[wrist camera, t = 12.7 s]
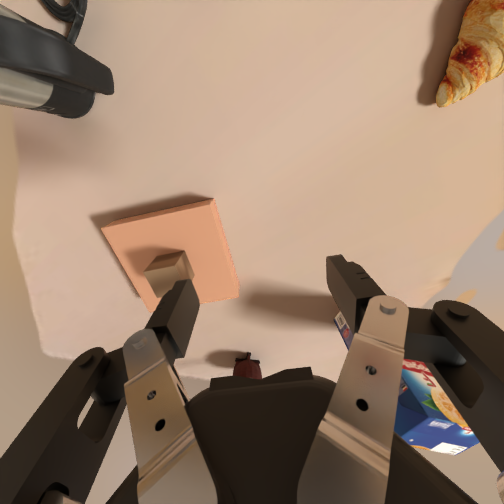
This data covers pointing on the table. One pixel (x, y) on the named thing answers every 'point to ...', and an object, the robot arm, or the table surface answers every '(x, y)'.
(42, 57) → the milk frother
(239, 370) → the mate gourd
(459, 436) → the beverage box
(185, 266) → the walnut cube
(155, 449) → the robot arm
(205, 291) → the terracotta base
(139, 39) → the table surface
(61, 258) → the table surface
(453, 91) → the croissant
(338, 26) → the table surface
